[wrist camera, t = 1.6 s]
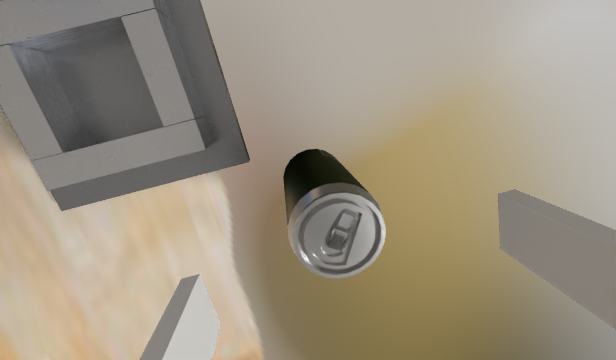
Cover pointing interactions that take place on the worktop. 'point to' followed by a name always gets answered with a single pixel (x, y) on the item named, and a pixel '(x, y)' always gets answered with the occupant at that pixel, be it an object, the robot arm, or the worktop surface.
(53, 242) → the worktop surface
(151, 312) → the worktop surface
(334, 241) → the beer can
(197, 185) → the worktop surface
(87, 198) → the square frame
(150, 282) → the worktop surface
